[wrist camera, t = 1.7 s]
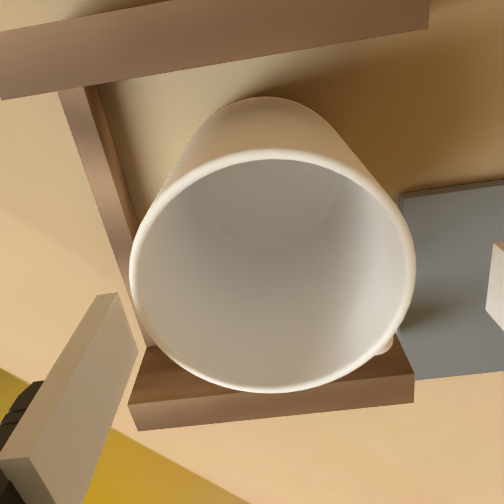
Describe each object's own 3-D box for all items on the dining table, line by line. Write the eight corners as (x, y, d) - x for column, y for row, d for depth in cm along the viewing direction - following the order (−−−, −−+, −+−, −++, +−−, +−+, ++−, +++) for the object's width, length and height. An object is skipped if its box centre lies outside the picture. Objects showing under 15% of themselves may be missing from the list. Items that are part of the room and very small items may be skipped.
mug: (303, 310, 26) (331, 470, 16) (149, 181, 22) (70, 294, 13) (418, 219, 23) (533, 349, 14) (263, 51, 19) (273, 71, 10)
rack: (53, 35, 19) (-25, 36, 13) (378, -24, 18) (430, -48, 12) (160, 354, 28) (138, 431, 22) (381, 328, 26) (413, 402, 21)
